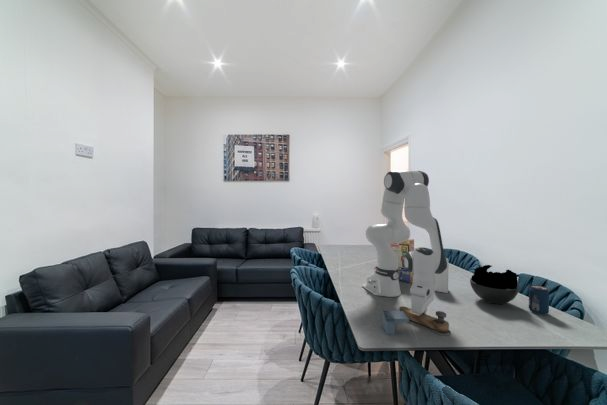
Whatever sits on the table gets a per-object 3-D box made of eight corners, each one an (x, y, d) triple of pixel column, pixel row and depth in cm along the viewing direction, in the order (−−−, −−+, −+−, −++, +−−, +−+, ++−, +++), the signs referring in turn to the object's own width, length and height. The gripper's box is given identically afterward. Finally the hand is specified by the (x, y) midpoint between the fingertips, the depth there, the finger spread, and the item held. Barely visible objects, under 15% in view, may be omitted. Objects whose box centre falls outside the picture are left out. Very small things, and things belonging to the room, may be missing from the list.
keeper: (387, 334, 99) (387, 318, 99) (382, 325, 106) (382, 310, 106) (408, 334, 99) (409, 319, 99) (402, 325, 106) (402, 310, 106)
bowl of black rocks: (461, 294, 140) (462, 260, 139) (498, 294, 139) (499, 261, 139) (486, 310, 120) (487, 271, 119) (529, 311, 119) (530, 271, 119)
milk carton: (447, 293, 141) (448, 259, 141) (433, 291, 145) (433, 258, 144) (448, 289, 147) (448, 257, 147) (434, 287, 151) (434, 255, 151)
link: (451, 330, 101) (451, 313, 101) (445, 334, 98) (445, 318, 98) (403, 311, 118) (403, 297, 118) (396, 315, 114) (396, 300, 114)
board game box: (414, 280, 162) (414, 239, 162) (410, 283, 158) (411, 240, 157) (384, 274, 176) (384, 235, 176) (380, 276, 172) (380, 236, 171)
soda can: (546, 311, 119) (546, 286, 119) (551, 317, 113) (551, 290, 113) (526, 307, 123) (527, 283, 122) (530, 313, 117) (531, 288, 116)
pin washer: (427, 328, 103) (427, 328, 103) (438, 324, 106) (438, 324, 106) (443, 337, 97) (443, 336, 97) (454, 332, 100) (454, 332, 100)
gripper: (423, 278, 120) (422, 306, 120) (408, 290, 104) (408, 323, 105) (438, 281, 116) (437, 310, 116) (424, 294, 100) (424, 328, 101)
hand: (423, 316), depth 110 cm, fingers closed
